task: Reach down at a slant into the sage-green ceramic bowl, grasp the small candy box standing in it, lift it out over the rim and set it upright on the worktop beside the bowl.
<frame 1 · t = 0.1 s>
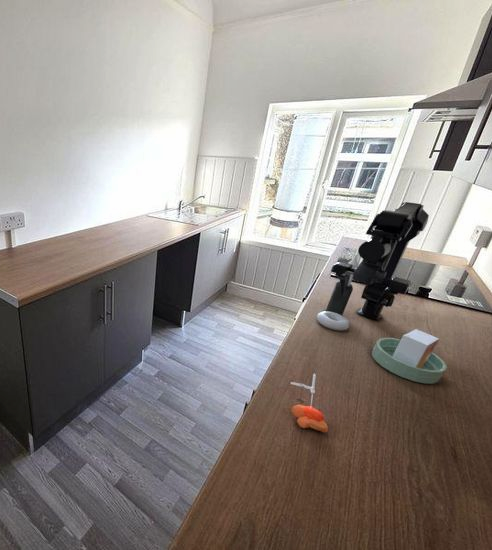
hand: (358, 300, 94), 15 cm above the worktop, tool pointing down, fingers open, 9 cm apart
donut: (331, 325, 108), on the worktop
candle: (332, 315, 114), on the worktop
lollipop: (303, 420, 68), on the worktop
bowl: (403, 365, 88), on the worktop
small box: (405, 366, 88), resting on bowl
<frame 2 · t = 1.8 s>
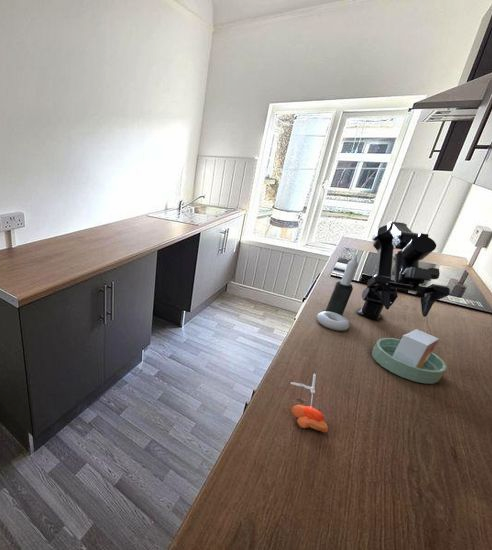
hand: (406, 312, 90), 14 cm above the worktop, tool tilted 45°, fingers open, 9 cm apart
nothing on the worktop moved.
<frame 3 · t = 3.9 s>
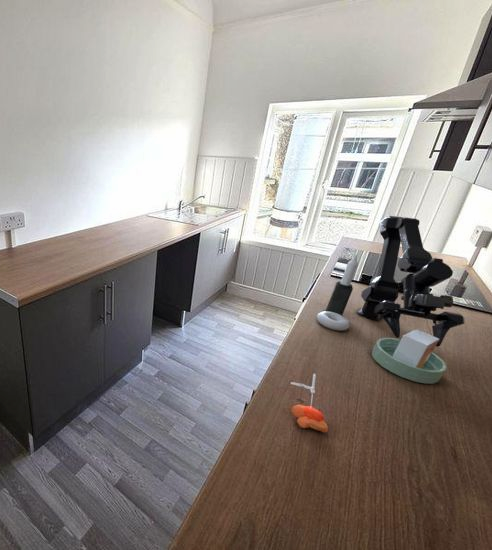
hand: (417, 341, 85), 9 cm above the worktop, tool tilted 45°, fingers open, 9 cm apart
small box: (405, 366, 87), resting on bowl, touching gripper
everything else where it was.
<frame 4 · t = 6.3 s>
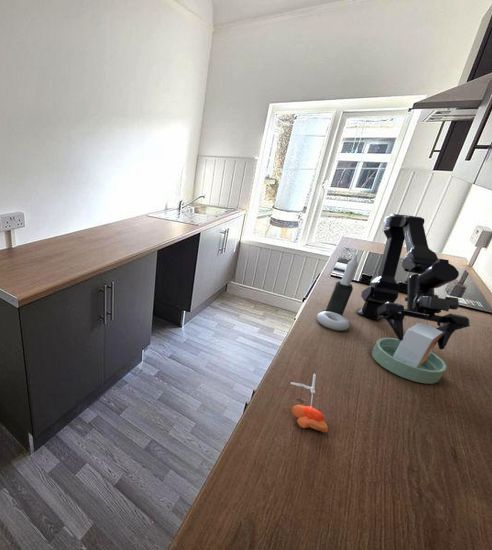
hand: (420, 344, 83), 9 cm above the worktop, tool tilted 45°, fingers closed on small box, 9 cm apart
small box: (408, 360, 87), point 2 cm above the worktop, touching gripper
everything else where it was.
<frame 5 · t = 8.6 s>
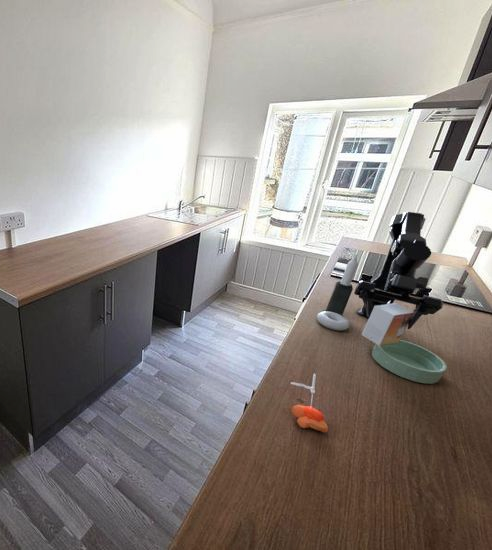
hand: (388, 322, 85), 13 cm above the worktop, tool tilted 45°, fingers closed on small box, 9 cm apart
small box: (379, 339, 89), point 7 cm above the worktop, touching gripper
everything else where it was.
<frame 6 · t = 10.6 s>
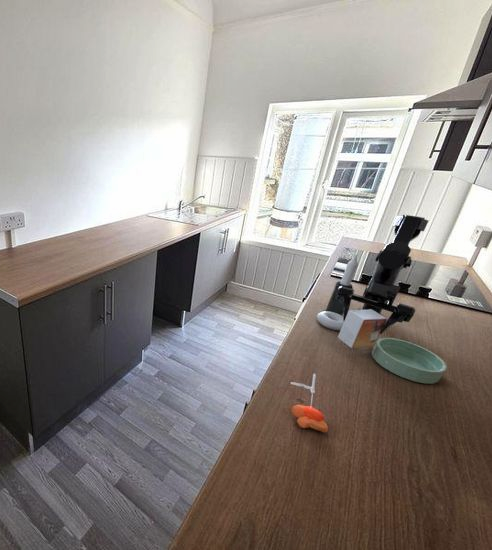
hand: (361, 326, 89), 9 cm above the worktop, tool tilted 45°, fingers closed on small box, 9 cm apart
small box: (355, 342, 93), point 3 cm above the worktop, touching gripper
everything else where it was.
when the fingers open (7 cm above the worktop, at t = 12.2 s): small box stays where it is, on the worktop.
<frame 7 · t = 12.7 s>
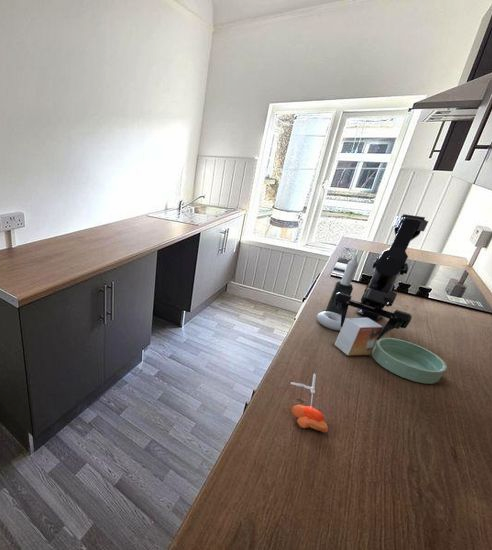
hand: (358, 332, 90), 7 cm above the worktop, tool tilted 45°, fingers open, 9 cm apart
small box: (351, 350, 94), on the worktop, touching gripper
everything else where it was.
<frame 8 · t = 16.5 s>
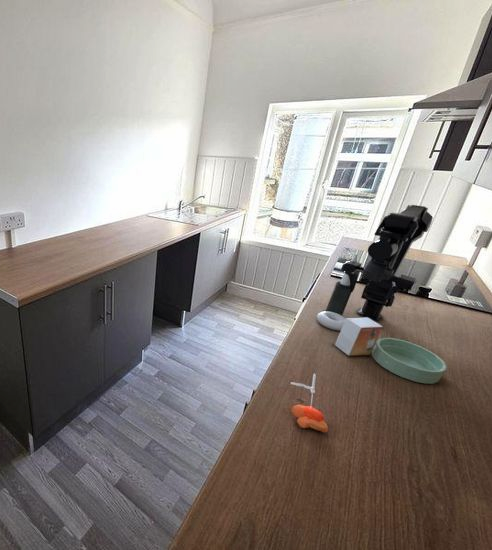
hand: (367, 297, 100), 13 cm above the worktop, tool pointing down, fingers open, 9 cm apart
small box: (351, 350, 94), on the worktop
everything else where it was.
at the end: small box inside the target area (0.3 cm from its centre), on the worktop; small box tilted 0°; the gripper is holding nothing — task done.
